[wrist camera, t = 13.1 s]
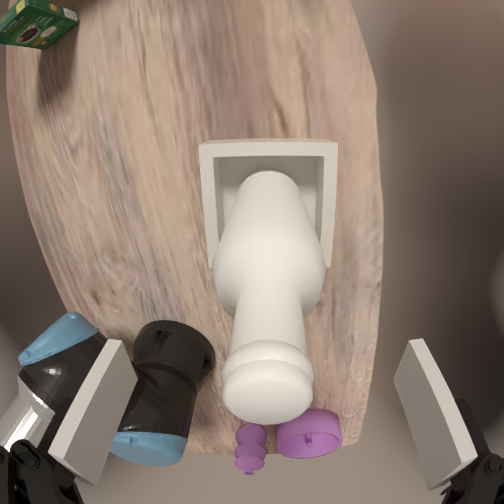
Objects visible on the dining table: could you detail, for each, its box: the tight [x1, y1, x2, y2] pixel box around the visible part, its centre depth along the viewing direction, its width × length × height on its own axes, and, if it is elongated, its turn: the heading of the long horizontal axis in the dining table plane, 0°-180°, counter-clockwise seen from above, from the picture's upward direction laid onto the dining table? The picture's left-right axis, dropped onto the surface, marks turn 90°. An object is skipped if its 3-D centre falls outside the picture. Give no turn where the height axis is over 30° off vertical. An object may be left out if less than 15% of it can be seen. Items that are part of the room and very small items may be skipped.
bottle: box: [212, 168, 327, 425], centre depth 24 cm, size 8×8×30 cm
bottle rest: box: [199, 138, 338, 268], centre depth 36 cm, size 15×15×6 cm
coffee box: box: [0, 0, 79, 50], centre depth 21 cm, size 8×3×13 cm, turn 109°
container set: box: [234, 409, 342, 475], centre depth 56 cm, size 25×15×13 cm, turn 98°
